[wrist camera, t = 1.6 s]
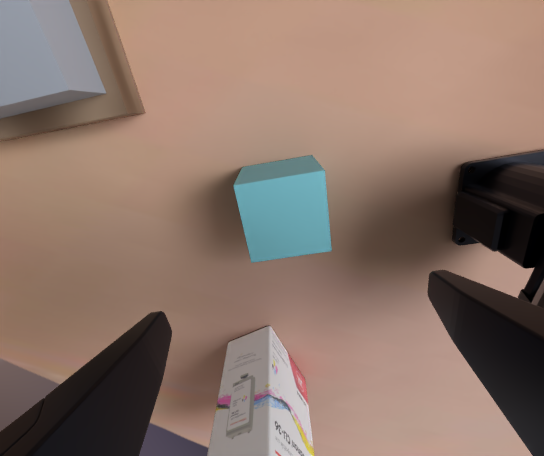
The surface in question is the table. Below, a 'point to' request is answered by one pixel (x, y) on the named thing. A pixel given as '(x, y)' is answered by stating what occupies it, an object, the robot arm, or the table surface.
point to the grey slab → (43, 57)
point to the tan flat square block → (113, 74)
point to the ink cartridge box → (261, 401)
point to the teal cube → (284, 208)
